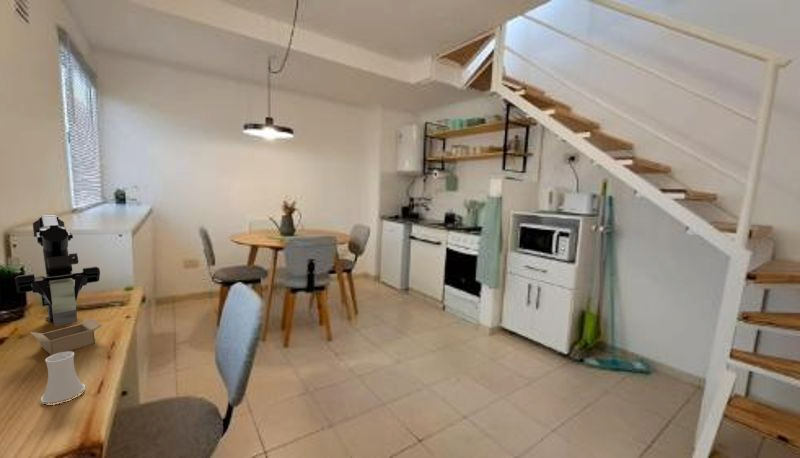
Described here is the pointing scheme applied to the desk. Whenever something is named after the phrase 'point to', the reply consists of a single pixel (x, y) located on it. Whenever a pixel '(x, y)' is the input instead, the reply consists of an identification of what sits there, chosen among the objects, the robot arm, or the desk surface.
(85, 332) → the carton
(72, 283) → the box
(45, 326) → the desk surface
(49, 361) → the vase
